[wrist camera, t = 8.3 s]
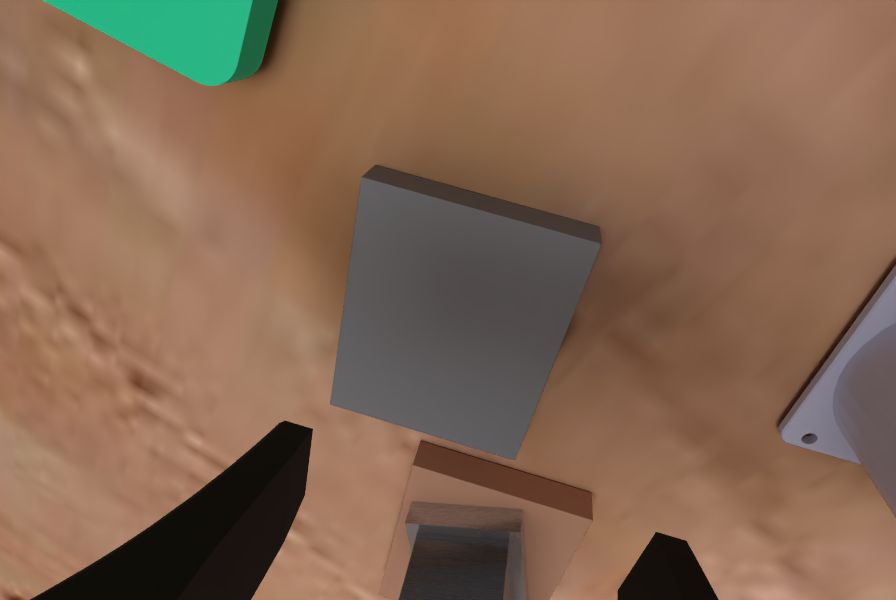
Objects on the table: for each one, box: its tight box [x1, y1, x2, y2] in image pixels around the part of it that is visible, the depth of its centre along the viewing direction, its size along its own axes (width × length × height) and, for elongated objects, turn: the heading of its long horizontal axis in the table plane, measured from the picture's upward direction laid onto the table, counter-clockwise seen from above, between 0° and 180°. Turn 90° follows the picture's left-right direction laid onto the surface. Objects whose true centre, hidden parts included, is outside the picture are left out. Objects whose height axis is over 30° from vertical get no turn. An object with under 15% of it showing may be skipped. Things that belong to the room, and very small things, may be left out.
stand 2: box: [379, 441, 593, 600], centre depth 26 cm, size 8×10×2 cm
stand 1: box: [330, 165, 602, 460], centre depth 21 cm, size 8×10×2 cm
